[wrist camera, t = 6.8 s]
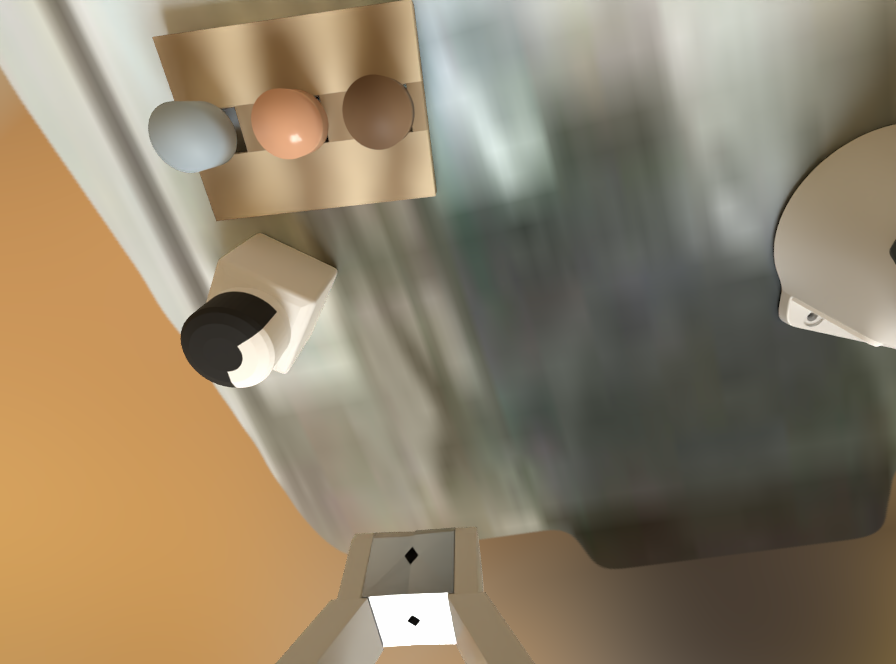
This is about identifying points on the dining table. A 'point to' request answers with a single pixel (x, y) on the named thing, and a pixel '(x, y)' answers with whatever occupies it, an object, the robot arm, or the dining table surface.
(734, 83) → the dining table surface
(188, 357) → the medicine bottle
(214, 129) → the slate-blue button
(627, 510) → the dining table surface
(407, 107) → the brown rounded piece
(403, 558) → the robot arm
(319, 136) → the peach rounded knob
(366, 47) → the button board
